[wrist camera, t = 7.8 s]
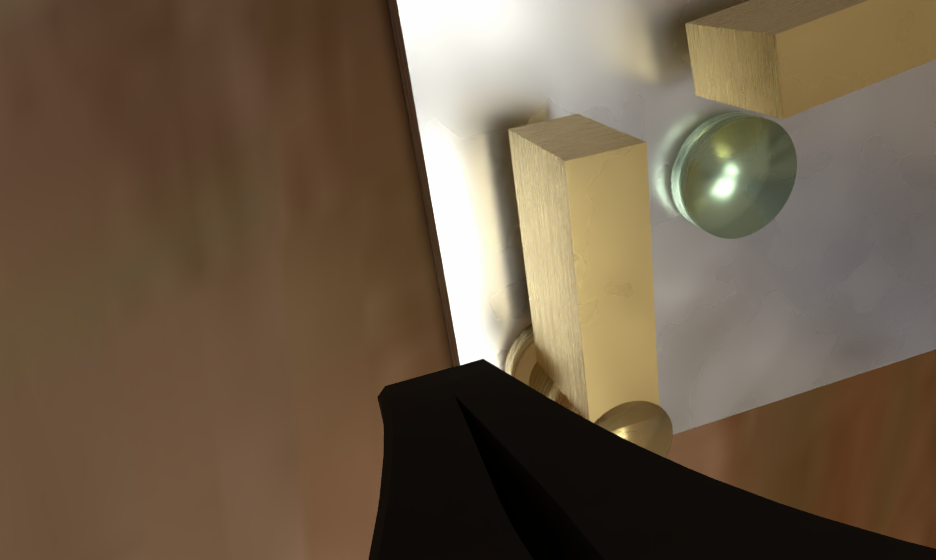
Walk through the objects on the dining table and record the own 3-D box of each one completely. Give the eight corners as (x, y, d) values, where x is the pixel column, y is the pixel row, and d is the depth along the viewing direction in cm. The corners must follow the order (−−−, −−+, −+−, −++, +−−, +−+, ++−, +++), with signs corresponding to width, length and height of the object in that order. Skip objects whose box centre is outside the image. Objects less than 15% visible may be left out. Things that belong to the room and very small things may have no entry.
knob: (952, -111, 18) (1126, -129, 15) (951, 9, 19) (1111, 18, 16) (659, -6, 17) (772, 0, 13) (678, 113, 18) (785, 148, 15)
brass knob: (608, 391, 21) (686, 477, 17) (511, 421, 20) (572, 516, 17) (585, 101, 17) (676, 135, 14) (468, 126, 17) (533, 168, 13)
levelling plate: (971, -203, 18) (1042, -219, 17) (910, 335, 25) (957, 361, 23) (366, -115, 15) (384, -125, 14) (472, 474, 22) (492, 515, 20)
